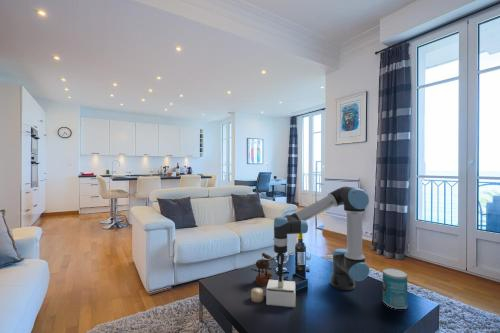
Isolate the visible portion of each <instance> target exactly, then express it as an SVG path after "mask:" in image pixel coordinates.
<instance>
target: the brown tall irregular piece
mask: <svg viewBox="0 0 500 333" xmlns="http://www.w3.org/2000/svg"><path fill="white" fill-rule="evenodd" d="M261 257H262V258H261V259H258V260H256V262H255V266H256V268H258V270H257V269H254V268H251V269H250V270H251V271H255V272H257V273H258V274H257V275H256V277H255V284H257V285H258V286H261V287H267V285H268V282H269V280H272V277H273V273H272V272H271V271H273V268H272V267H270V266H271V260H274V257H272V256H270V254H266V253H265V252H262V253H261ZM264 270H265V271H264ZM268 270H269V271H268Z"/></svg>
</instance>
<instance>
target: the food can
mask: <svg viewBox="0 0 500 333" xmlns="http://www.w3.org/2000/svg"><path fill="white" fill-rule="evenodd" d="M383 302H384V303H385V304H386V305H387V306H386V305H385V304H384V303H383ZM382 303H383V304H384V305H385V306H386V307H388V306H389V307H391V308H390V309H392V308H395V309H394V310H396V309H405V310H406V309H408V274H407V273H406V272H405V271H403V270H400V269H397V268H392V267H391V268H389V267H388V268H384V269H382ZM389 307H388V308H389Z"/></svg>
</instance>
